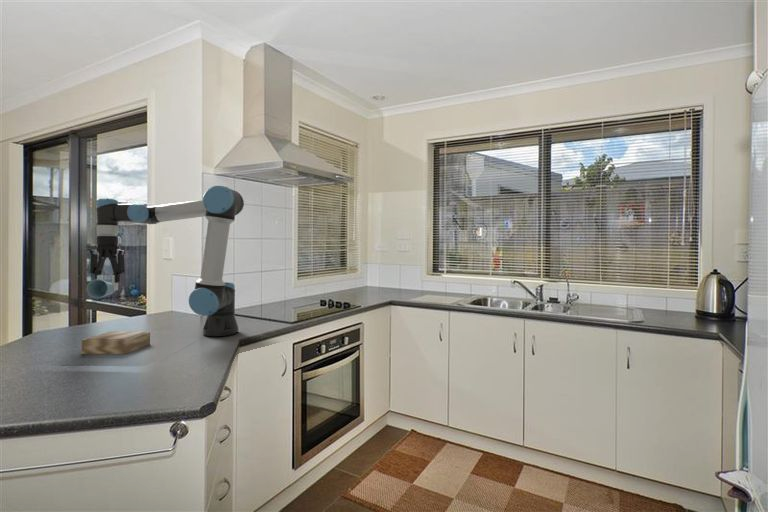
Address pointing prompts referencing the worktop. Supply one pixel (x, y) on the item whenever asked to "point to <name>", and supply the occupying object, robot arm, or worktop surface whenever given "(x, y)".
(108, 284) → the cup
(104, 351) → the base
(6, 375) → the worktop surface
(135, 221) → the robot arm
